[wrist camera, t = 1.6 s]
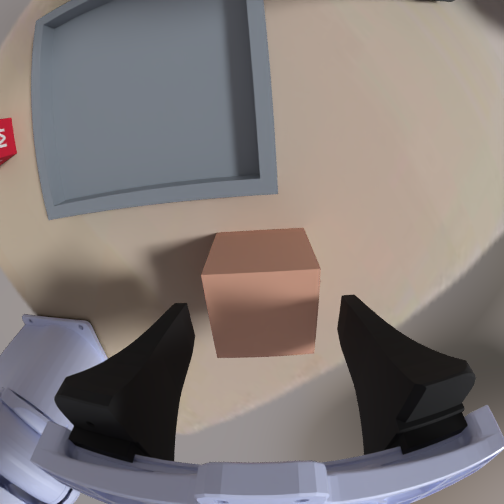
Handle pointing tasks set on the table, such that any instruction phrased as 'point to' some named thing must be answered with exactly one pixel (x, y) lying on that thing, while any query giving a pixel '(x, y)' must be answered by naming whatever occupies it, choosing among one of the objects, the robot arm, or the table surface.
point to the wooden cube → (262, 293)
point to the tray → (151, 103)
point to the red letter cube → (6, 140)
